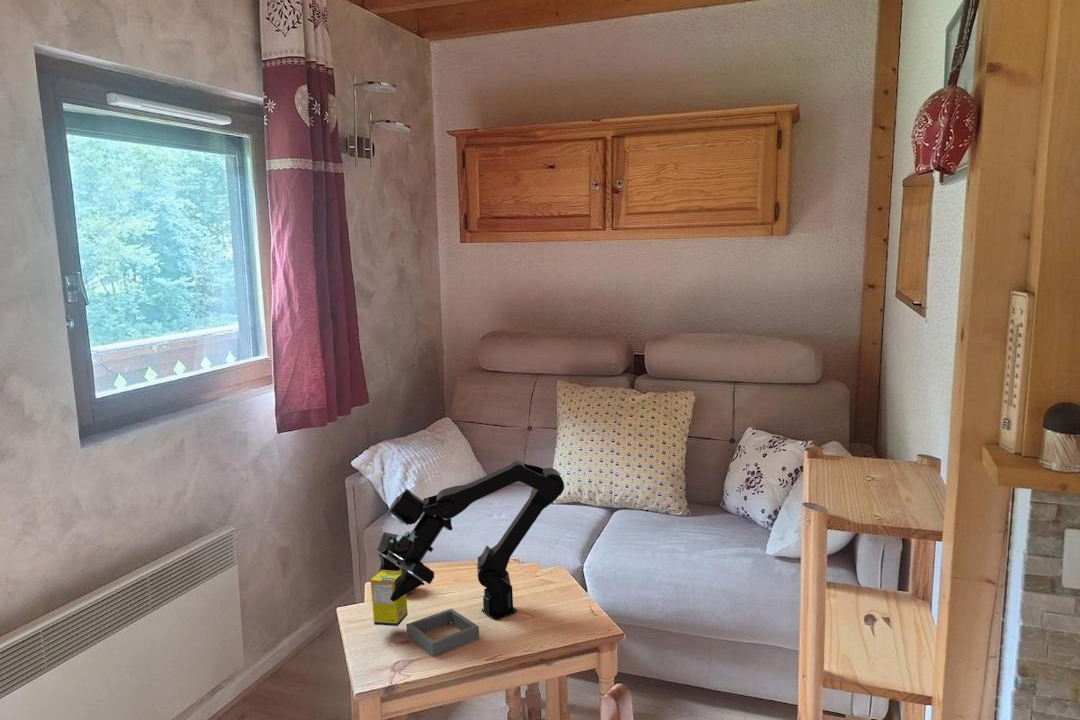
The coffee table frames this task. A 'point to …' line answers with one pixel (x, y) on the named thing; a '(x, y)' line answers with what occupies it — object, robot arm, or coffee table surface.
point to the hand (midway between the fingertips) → (383, 594)
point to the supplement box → (387, 599)
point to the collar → (448, 642)
